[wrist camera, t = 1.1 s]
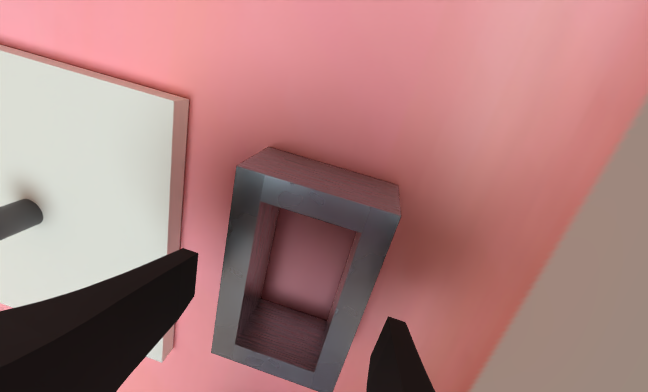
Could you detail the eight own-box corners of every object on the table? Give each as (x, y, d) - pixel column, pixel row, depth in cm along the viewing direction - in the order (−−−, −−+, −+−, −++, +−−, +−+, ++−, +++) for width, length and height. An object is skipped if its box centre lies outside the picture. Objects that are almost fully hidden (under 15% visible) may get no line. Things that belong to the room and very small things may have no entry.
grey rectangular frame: (340, 341, 16) (331, 396, 13) (240, 306, 17) (211, 352, 14) (398, 185, 13) (401, 215, 10) (268, 146, 13) (236, 165, 10)
